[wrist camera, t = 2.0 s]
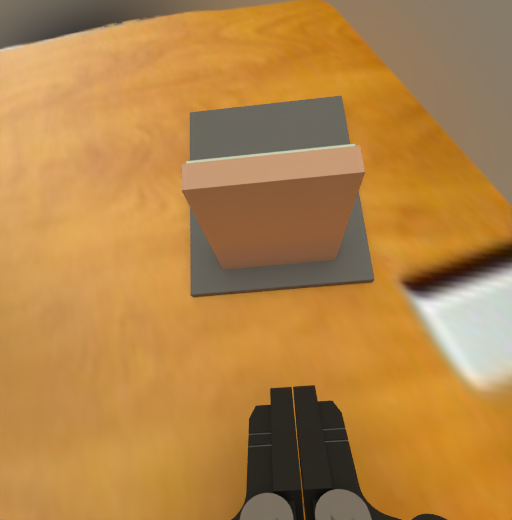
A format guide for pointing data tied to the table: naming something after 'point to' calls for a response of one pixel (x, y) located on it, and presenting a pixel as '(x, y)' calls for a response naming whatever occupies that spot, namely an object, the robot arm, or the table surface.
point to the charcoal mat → (265, 141)
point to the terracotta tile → (275, 204)
